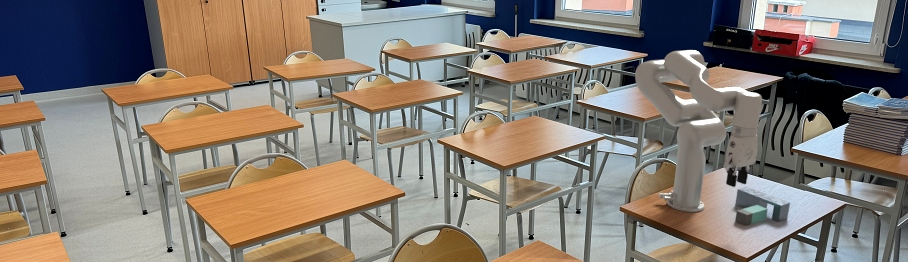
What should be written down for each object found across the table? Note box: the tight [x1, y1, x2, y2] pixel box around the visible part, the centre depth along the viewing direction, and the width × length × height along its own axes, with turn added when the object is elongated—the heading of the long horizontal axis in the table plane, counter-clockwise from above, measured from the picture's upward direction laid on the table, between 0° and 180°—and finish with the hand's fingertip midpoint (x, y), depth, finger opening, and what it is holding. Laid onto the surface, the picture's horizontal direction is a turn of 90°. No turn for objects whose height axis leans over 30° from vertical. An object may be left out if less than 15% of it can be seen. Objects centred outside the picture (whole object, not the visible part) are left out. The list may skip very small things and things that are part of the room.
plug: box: [734, 205, 768, 227], centre depth 221 cm, size 11×4×4 cm, turn 120°
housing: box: [734, 186, 791, 223], centre depth 228 cm, size 5×17×6 cm, turn 30°
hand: (736, 183), depth 212 cm, fingers open, 4 cm apart
